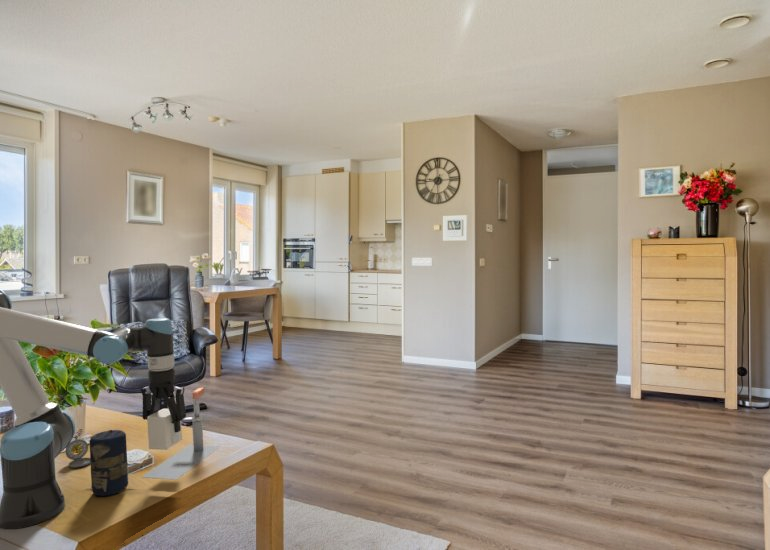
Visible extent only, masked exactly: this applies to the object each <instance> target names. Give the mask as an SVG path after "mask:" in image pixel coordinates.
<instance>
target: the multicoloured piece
mask: <svg viewBox="0 0 770 550" xmlns="http://www.w3.org/2000/svg"><path fill="white" fill-rule="evenodd" d="M191 395H192V400H193V401H192V402H193V416H192V417H191V416H190V417H187V416H186V418H184V419H183V420H181V423H183V422H184V423H185V422H186V423H187V422H189V423H191V422H192V421H193V422H199V421H201V420H202V421H203V415H200V414H201V413H200V398H201V397H202V396H203V395H205V387H198V388H197V389H195V390H194V391H192V394H191Z"/></svg>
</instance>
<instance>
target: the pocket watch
mask: <svg viewBox="0 0 770 550" xmlns="http://www.w3.org/2000/svg"><path fill="white" fill-rule="evenodd" d="M76 434H78V435H76ZM80 436H81V433H80V432H77V431H75V435H74V437H73V439H74V440H71V442H70V444H69V445H68V446H67V447H66V448H65V456H66V457H67V458H68V459H69V460H72V461H70V462H69V463H68V468H76V469H77V468H82V467H86V466H88V465H90V457H84V456H86V454H87V453H88V450H89V445H88V442H86V441H85V440H84V439H79V438H80Z"/></svg>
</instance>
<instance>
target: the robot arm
mask: <svg viewBox="0 0 770 550" xmlns="http://www.w3.org/2000/svg"><path fill="white" fill-rule="evenodd" d="M12 308H13V306H12V300H11V297H10V296H9V295H8V293H7V292H5V291H4V290H3V289H1V288H0V389H1V390H2V393H3V395H4V396H5V398H6V400H7V402H8V404H9V405H10V407H11V409H12V411H13V413H14V415H15V418H16V419H15V420H14V422H13V427H12V428H10V429H8V431H6V432H5V433H4V434H3V435H2V436H1V438H0V464H1V478H2V479H1V480H2V490H3V491H2V495H1V499H0V528H2V529H22V528H25V527H30V526H35V525H36V524H40V523H43V522H45V521H47V520H49V519H52V518H54V517H55V516H57V515H59V514H60V513H61V512H62V511H63V510H64V509H65V507H66V506H65V505H66V503H65V501H66V500H65V496H64V494H63V493H62V490H61V487H60V485H59V484H58V481H57V480H56V479H57V478H56V477H57V476H56V464H55V461H56V460H55V459H56V458H57V457H58V456H59V455H60V454H61V453H62V452H63V451H64V450H66V447H67V446H68V445H69V444H70V443H71V442H72V441H73V439H74V438H73V437H75V435H76V423H75V421H74V419H73V418H72V416H71V415H70V414H68V413H67V412H64V411H63V410H62V409H61V408H60V406H59V404H58V403H57V402H52V401H51V400H50V399H49V398H48V396H47V394H46V392H45V390H44V388H43V387H42V385H41V382H40V381H39V379H38V377H37V375H36V374H35V372H34V369H33V367H32V366H31V363H30V361H29V360H28V357H27V356H26V354H25V352H24V350H23V349H22V346H21V345H20V343H19V342H22V343H26V344H31V345H35V346H40V347H44V348H48V349H49V348H50V349H53V350H54V349H55V350H57V351H63V352H67V353H73V354H77V355H82V356H86V357H90V358H94V359H96V360H97V361H98V362H99V363H101V364H105V365H110V364H111V365H112V364H115V363H117V362H119V361H121V360H123V358H124V357H126V355H127V354H129V353H133V352H134V353H135V352H145V351H146V353H147V354H146V356H147V367H148V368H147V369H148V372H147V374H148V375H147V376H148V382H149V385H148V386H145V387H142V388H141V389H140V392H141V395H142V420H144V421H145V420H147V417H148V416H150V415H152V414H154V413H156V412H158V411H159V408H160V403H161V400H164V402H165V403H166V406H167V409H169V411H170V414H171V417H172V420H173V422H172V423H171V438H172V444H175V443H176V442H178V441H179V431H180V430H181V428H182V427H181V428H180V421H181V420H183V419H184V418H186V417H187V414H186V406H185V405H186V404H185V398H184V397H185V396H184V393H185V389H186V388H185V387H183V386H182V387H179V386H177V385H176V383H175V380H176V370H175V367H174V366H175V352H174V332H173V327H172V326H173V324H172V320H171V319H170V318H168V317H167V318H166V317H160V318H159V317H157V318H150V319H146V320H145V324H144V325H142V326H132V327H131V326H130V327H129V326H128V327H114V328H107V329H103V330H101V329H100V330H99V329H97V328H91V327H87V326H83V325H78V324H75V323H70V322H67V321H66V322H65V321H62V320H57V319H53V318H49V317H46V316H45V317H44V316H40V315H36V314H32V313H28V312H24V311H23V312H22V311H20V310H16V309H12ZM178 443H179V442H178ZM175 445H176V444H175Z"/></svg>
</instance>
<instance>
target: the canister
mask: <svg viewBox="0 0 770 550" xmlns="http://www.w3.org/2000/svg"><path fill="white" fill-rule="evenodd" d="M127 446H128V445H127V434H126V432H125V431H124V430H120V429H109V430H105V431H102V432H97V433H96V434H94V435H92V436H91V437H90V439H89V458H90V464H89V465H90V476H91V477H90V478H91V491H92V493H93V495H95V496H99V497H103V496H104V497H105V496H111V495H114V494H118V493H120V492H122V491H123V490H125V489H126V487H127V486H128V485H129V469H128V468H129V465H128V453H127V451H128V447H127Z"/></svg>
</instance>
